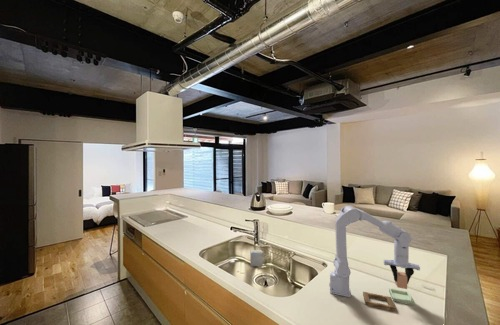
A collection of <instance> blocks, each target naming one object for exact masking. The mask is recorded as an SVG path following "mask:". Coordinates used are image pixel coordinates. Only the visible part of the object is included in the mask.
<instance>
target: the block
mask: <svg viewBox="0 0 500 325" xmlns="http://www.w3.org/2000/svg"><path fill="white" fill-rule="evenodd" d="M394 283H395V285H396V287H397V288H398V289H404V290H408V284H407V275H406V274H405V271H404V272H403V271H398V270H397V282H395V281H394Z"/></svg>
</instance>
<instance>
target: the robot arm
mask: <svg viewBox="0 0 500 325" xmlns="http://www.w3.org/2000/svg"><path fill="white" fill-rule="evenodd" d="M359 221H360V222H362V221H366V222H368V223H369V224H370V223H371V224H372V225H375V226H376V227H378V230H379V231H380V232H382V233H383V234H386V235H388V236H389V237H391V238H393V239H394V241H393V242H394V246H393V247H394V250H393V252H394V254H393V259H383V265H384V266H389V267H390V269H391V272H392V275H393V281H394V283H395V282H397V271H398V269H397V267H399V268H400V269H404V273H405V274H406V275H407V285H408V284H409V283H410V279H411V278H412V276H413V275H414V273H415V270H416V271H421V266H420V264H415V263H411V262H409V253H410V252H409V250H410V249H409V246H410V243H411V241H412V240H413V239H412V237H411V235H410V233H409V232H408V231H406V230H404V229H402V227H400V226H397V225H394V224H393V222H392V221H390V220H380V219H378V218H377V217H374V216H373V215H371V214H369V213H368V212H366V211H365V210H362V209H361V208H360V209H359V208H357V207H353V205H350V204H349V205H345V206H343V207H342V208H341V209H340V212H339V214H338V215H337V217H336V218H335V221H334V222H335V224H334V226H335V252H336V254H335V255H334V260H333V266H334V270H333V271H330V272H329V273H330V274H329V281H330V282H329V293H330V294H333V295H337V296H342V297H347V298H351V290H350V275H351V273H352V272H351V268H349V262H348V257H347V256H348V252H347V227H348V226H349V225H350V224H354V223H356V222H359Z"/></svg>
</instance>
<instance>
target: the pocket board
mask: <svg viewBox="0 0 500 325" xmlns="http://www.w3.org/2000/svg"><path fill="white" fill-rule="evenodd" d="M362 296H363V300H364V305H365V306H369V307H373V308H377V309H383V310H387V311H392V312H394V313H395V312H396V305H395V303H394V301H393V299H392V297H391V296H387V295H382V294H377V293H373V292H366V291H362ZM370 298H372V299H377V300H381V301H386V303H387V304H384V303H380V302H375V301H372V300H371V301H370Z"/></svg>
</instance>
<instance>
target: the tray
mask: <svg viewBox="0 0 500 325" xmlns="http://www.w3.org/2000/svg"><path fill="white" fill-rule="evenodd" d="M388 292H389V294H390V297H391V298H392V301H393V302H396V303H401V304H405V305H410V306H411V305H412V306H415V301H414V300H413V297H412V296H411V294H410V293H409V291H407V290H402V289H401V290H400V289H396V288H390V287H389V288H388Z"/></svg>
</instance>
